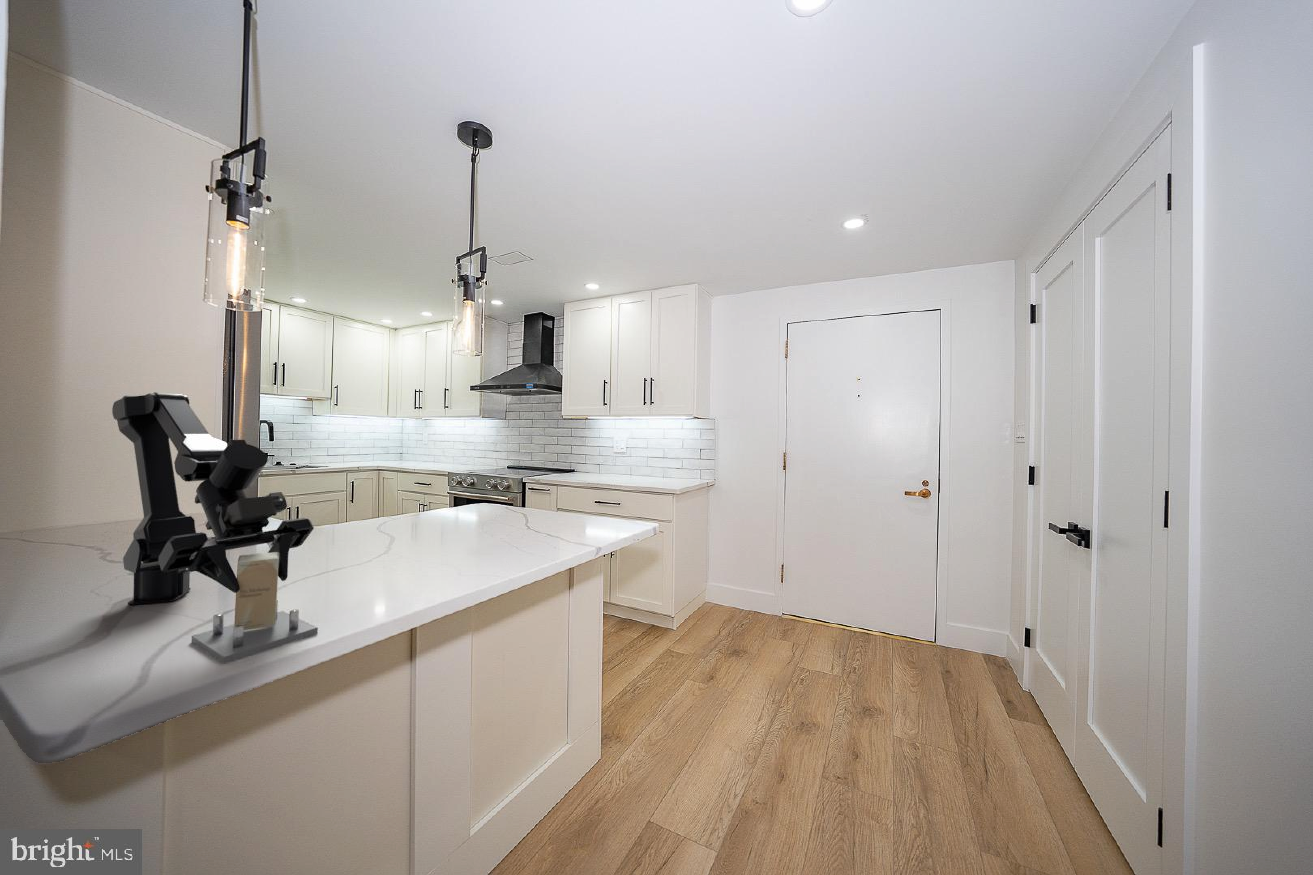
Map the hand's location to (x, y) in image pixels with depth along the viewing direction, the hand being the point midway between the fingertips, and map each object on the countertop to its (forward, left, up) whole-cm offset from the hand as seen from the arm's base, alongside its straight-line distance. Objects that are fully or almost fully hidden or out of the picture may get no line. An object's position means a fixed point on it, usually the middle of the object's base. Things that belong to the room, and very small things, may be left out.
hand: (261, 584), depth 75 cm
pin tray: (-1, +1, -9) cm, 9 cm away
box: (-1, +1, -7) cm, 7 cm away
